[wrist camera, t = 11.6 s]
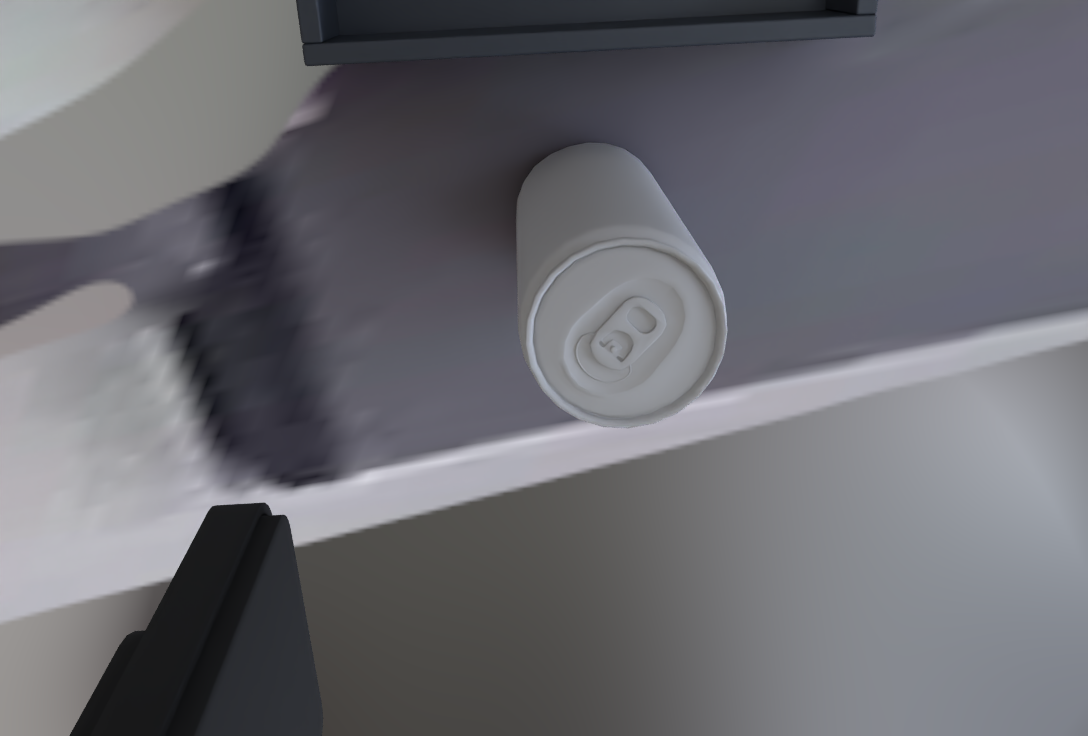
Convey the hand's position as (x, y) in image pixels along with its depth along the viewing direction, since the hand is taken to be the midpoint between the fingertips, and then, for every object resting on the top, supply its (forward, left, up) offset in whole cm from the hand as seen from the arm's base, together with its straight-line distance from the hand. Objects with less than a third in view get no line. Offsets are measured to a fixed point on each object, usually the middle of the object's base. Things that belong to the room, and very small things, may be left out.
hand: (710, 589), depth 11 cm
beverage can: (+1, 0, -24) cm, 24 cm away
